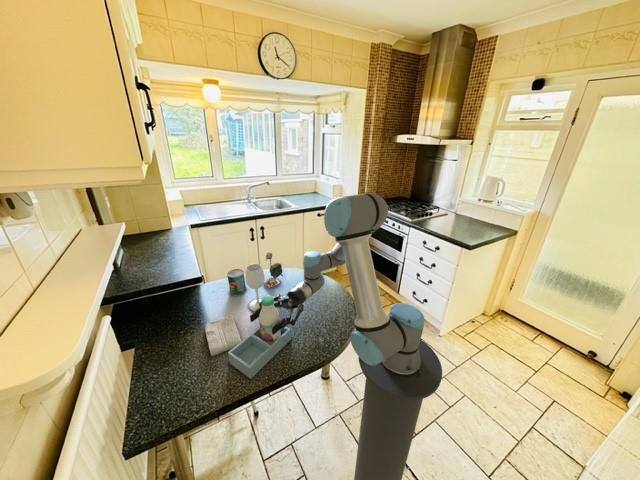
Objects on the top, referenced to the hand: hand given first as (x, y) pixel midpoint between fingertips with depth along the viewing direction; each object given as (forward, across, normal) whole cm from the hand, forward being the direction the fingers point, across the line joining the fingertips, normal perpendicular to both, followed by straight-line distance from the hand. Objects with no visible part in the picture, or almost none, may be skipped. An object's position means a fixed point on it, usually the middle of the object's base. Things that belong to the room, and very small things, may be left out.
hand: (261, 325), depth 93 cm
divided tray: (+1, 0, +12) cm, 12 cm away
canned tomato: (-19, -38, +12) cm, 44 cm away
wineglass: (-17, -21, +12) cm, 30 cm away
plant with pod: (-35, -28, +12) cm, 46 cm away
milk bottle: (-4, 0, +11) cm, 12 cm away
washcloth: (+5, -18, +12) cm, 22 cm away
